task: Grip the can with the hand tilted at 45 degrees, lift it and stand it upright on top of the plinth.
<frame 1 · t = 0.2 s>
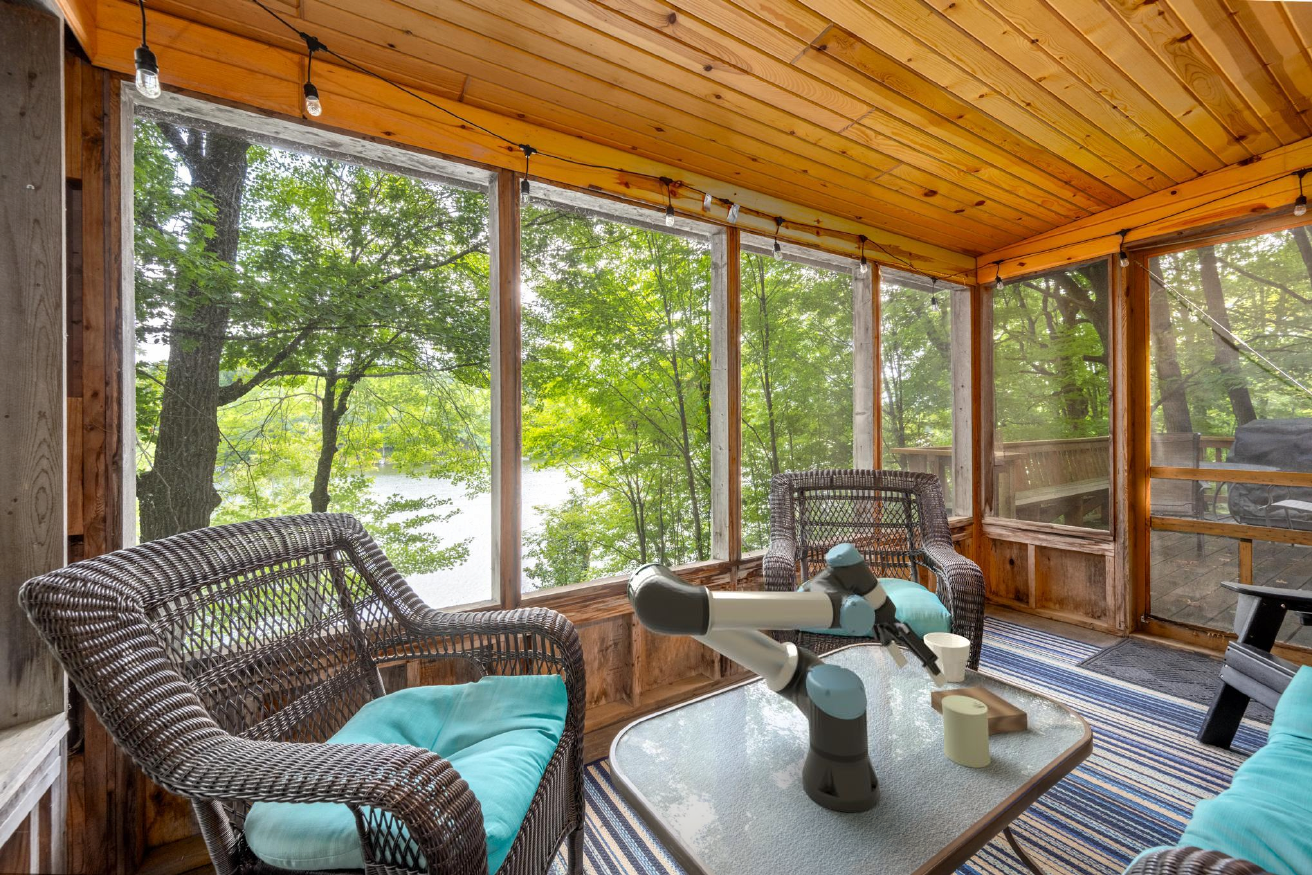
hand: (922, 674, 129), 16 cm above the table, tool tilted 30°, fingers open, 13 cm apart
cup: (948, 677, 161), on the table
can: (966, 756, 121), on the table
plinth: (977, 717, 137), on the table
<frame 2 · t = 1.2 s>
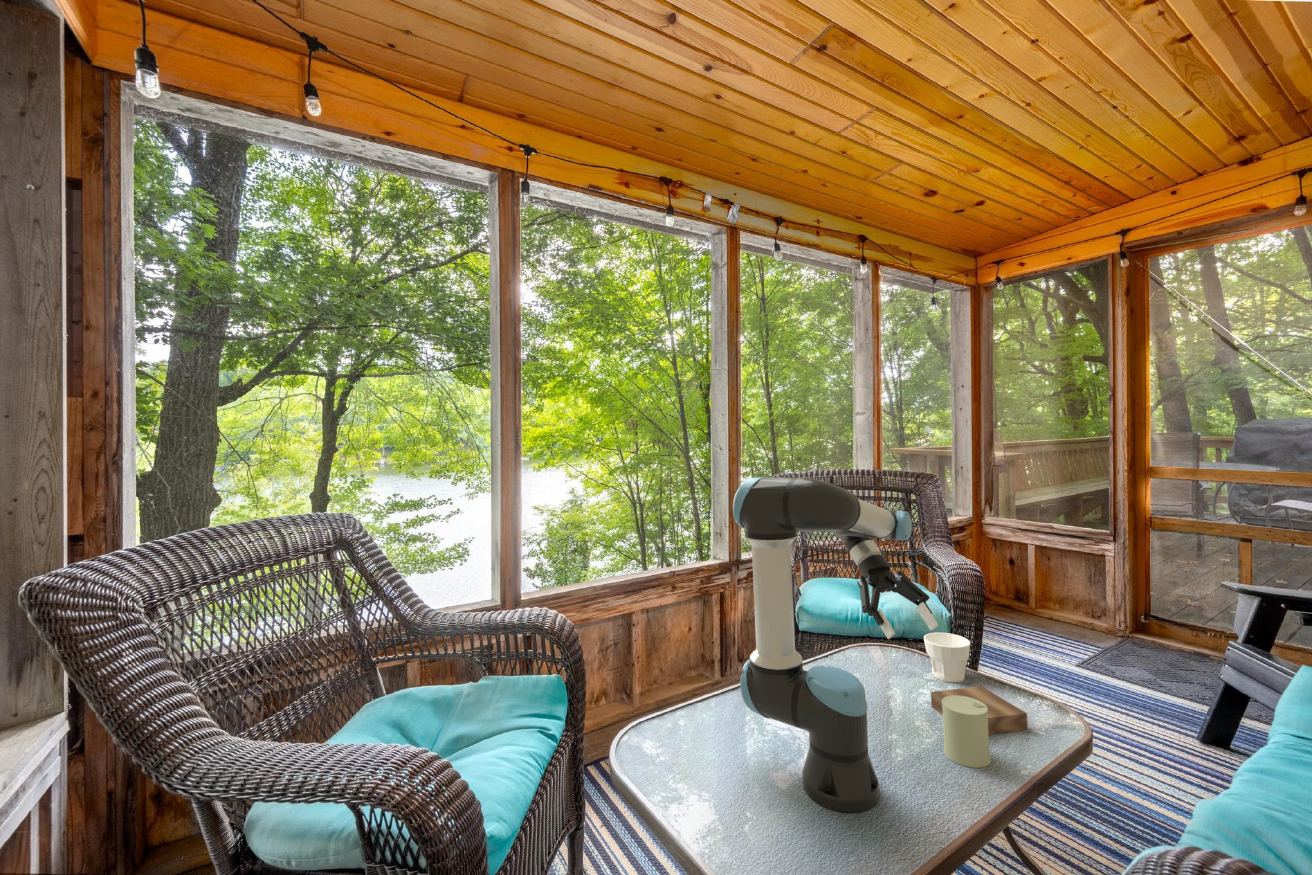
hand: (913, 632, 135), 23 cm above the table, tool tilted 45°, fingers open, 13 cm apart
nothing on the table moved.
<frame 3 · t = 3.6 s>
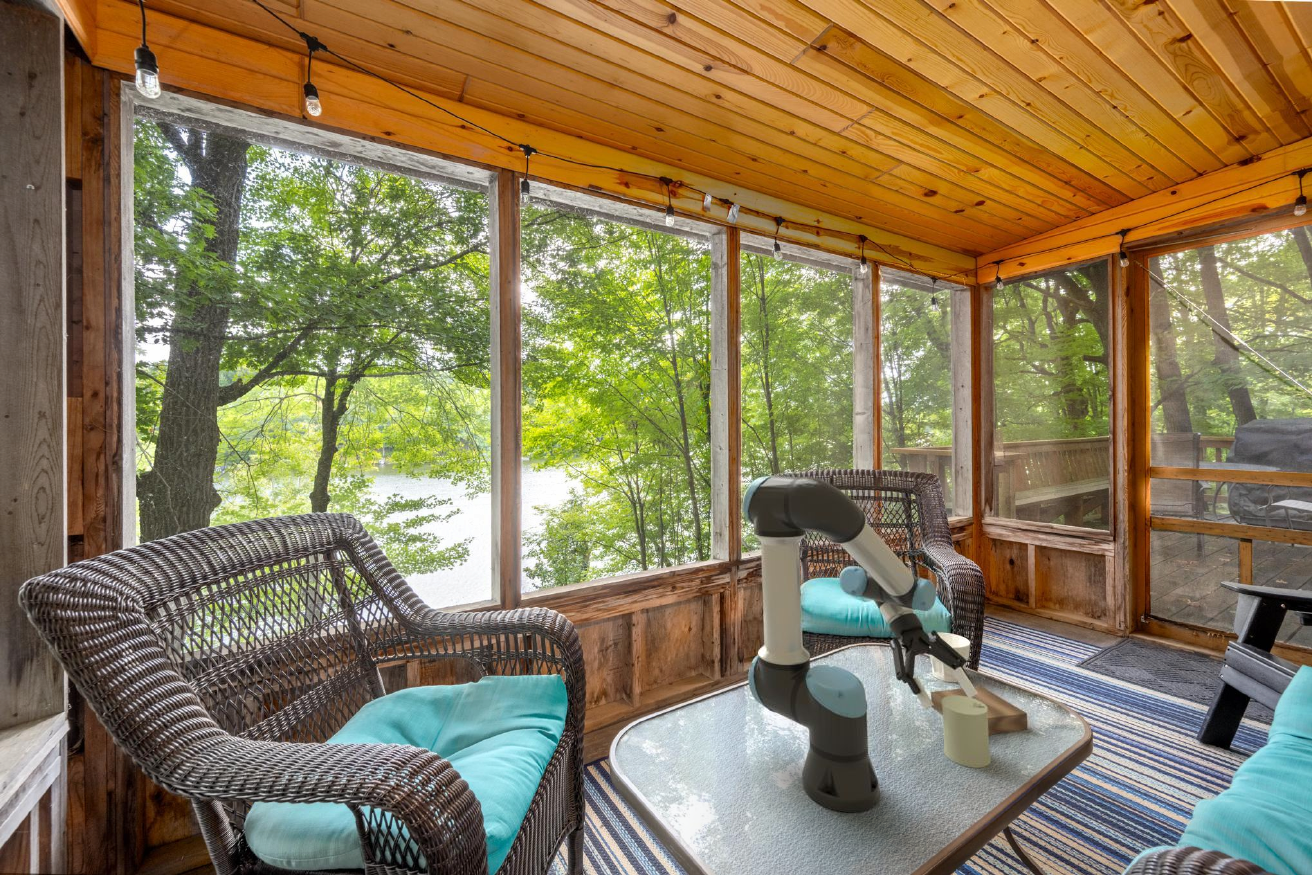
hand: (952, 701, 126), 10 cm above the table, tool tilted 45°, fingers open, 13 cm apart
nothing on the table moved.
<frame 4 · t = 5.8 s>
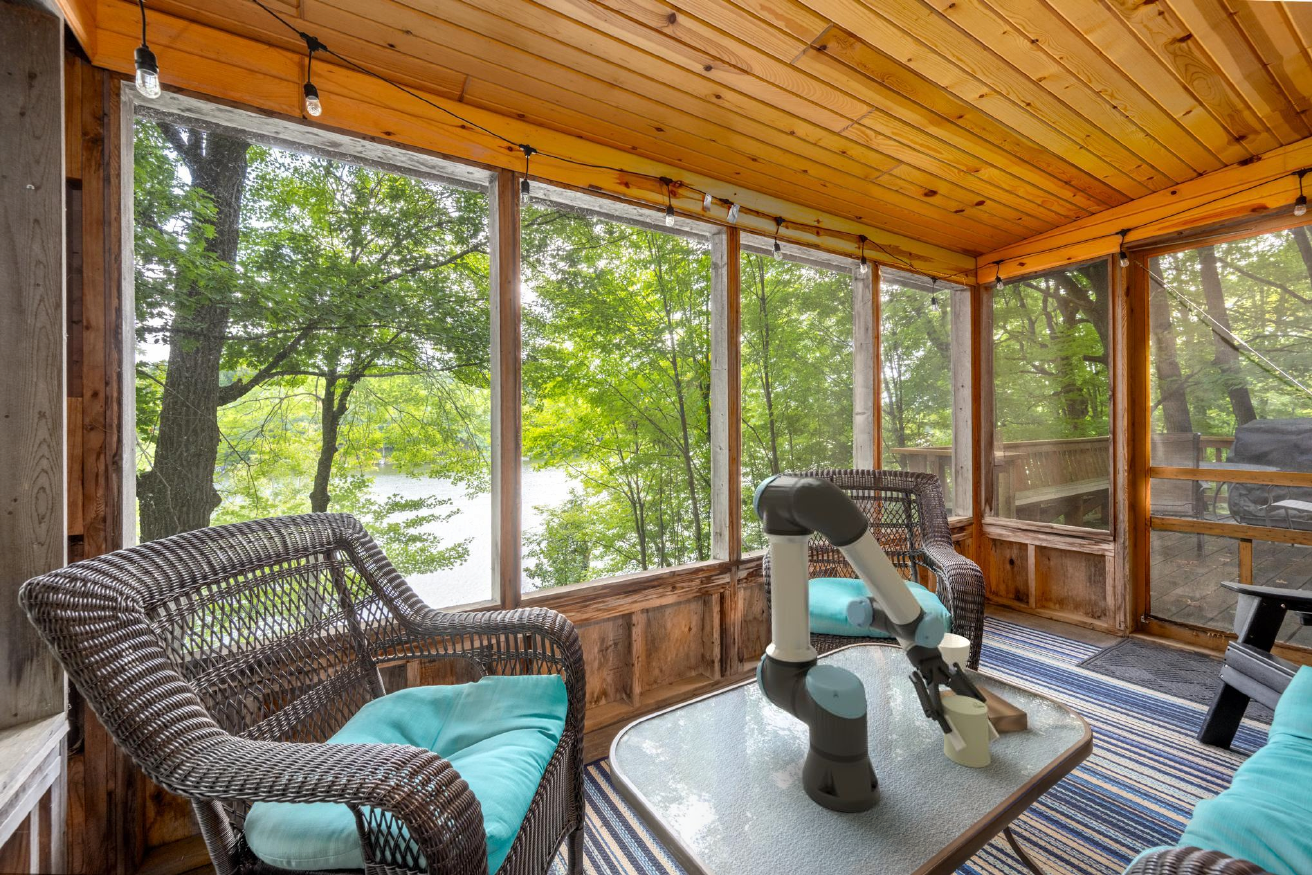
hand: (978, 743, 118), 4 cm above the table, tool tilted 45°, fingers closed on can, 9 cm apart
can: (966, 756, 121), on the table, touching gripper
everything else where it was.
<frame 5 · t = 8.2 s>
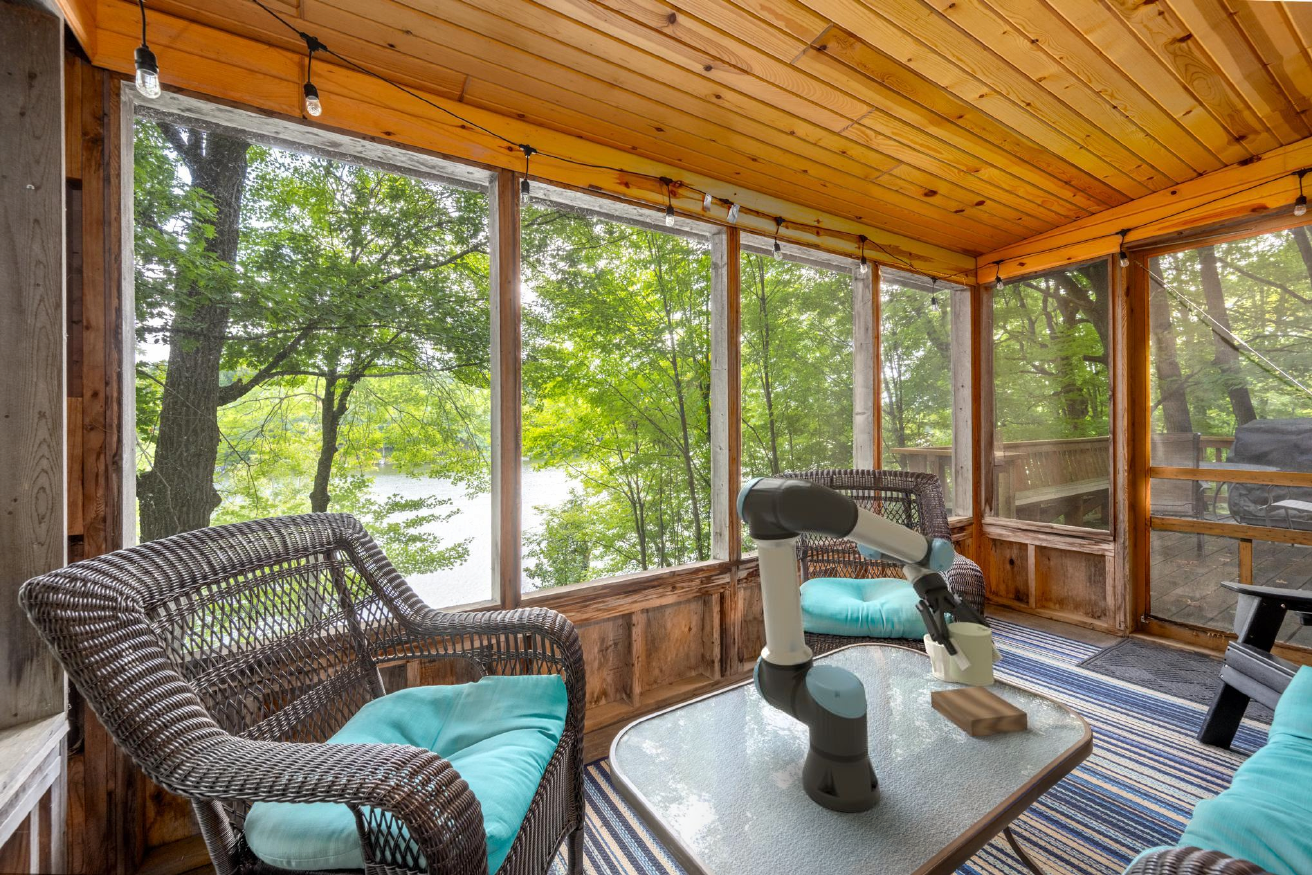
hand: (982, 664, 124), 19 cm above the table, tool tilted 45°, fingers closed on can, 9 cm apart
can: (971, 677, 127), point 15 cm above the table, touching gripper
everything else where it was.
when the fingers open (10 cm above the table, at t = 10.9 s): can drops 1 cm, resting on plinth.
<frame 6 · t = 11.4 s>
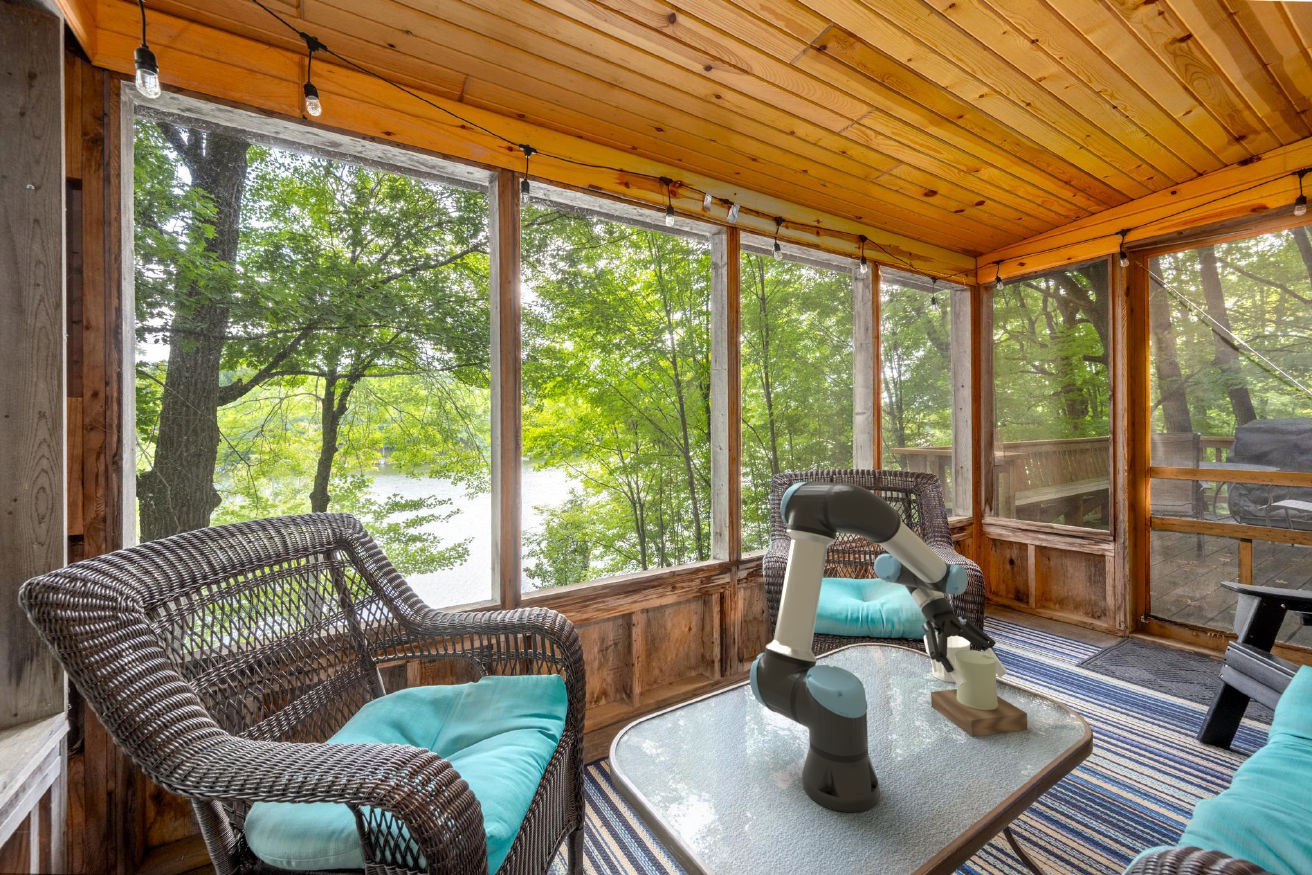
hand: (983, 679, 135), 11 cm above the table, tool tilted 45°, fingers open, 13 cm apart
can: (977, 702, 137), point 4 cm above the table, touching plinth
everything else where it was.
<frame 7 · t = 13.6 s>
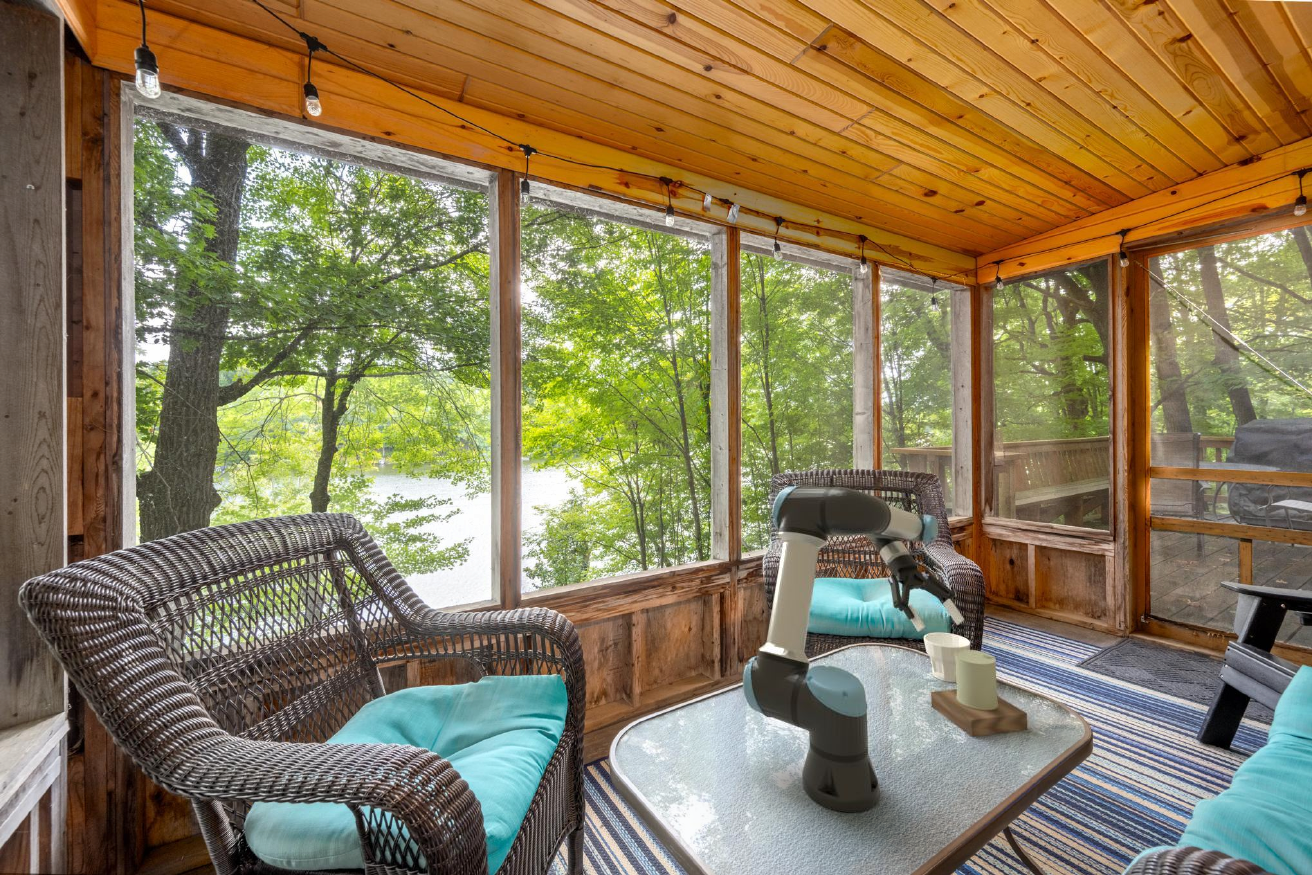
hand: (941, 625, 147), 20 cm above the table, tool tilted 45°, fingers open, 13 cm apart
nothing on the table moved.
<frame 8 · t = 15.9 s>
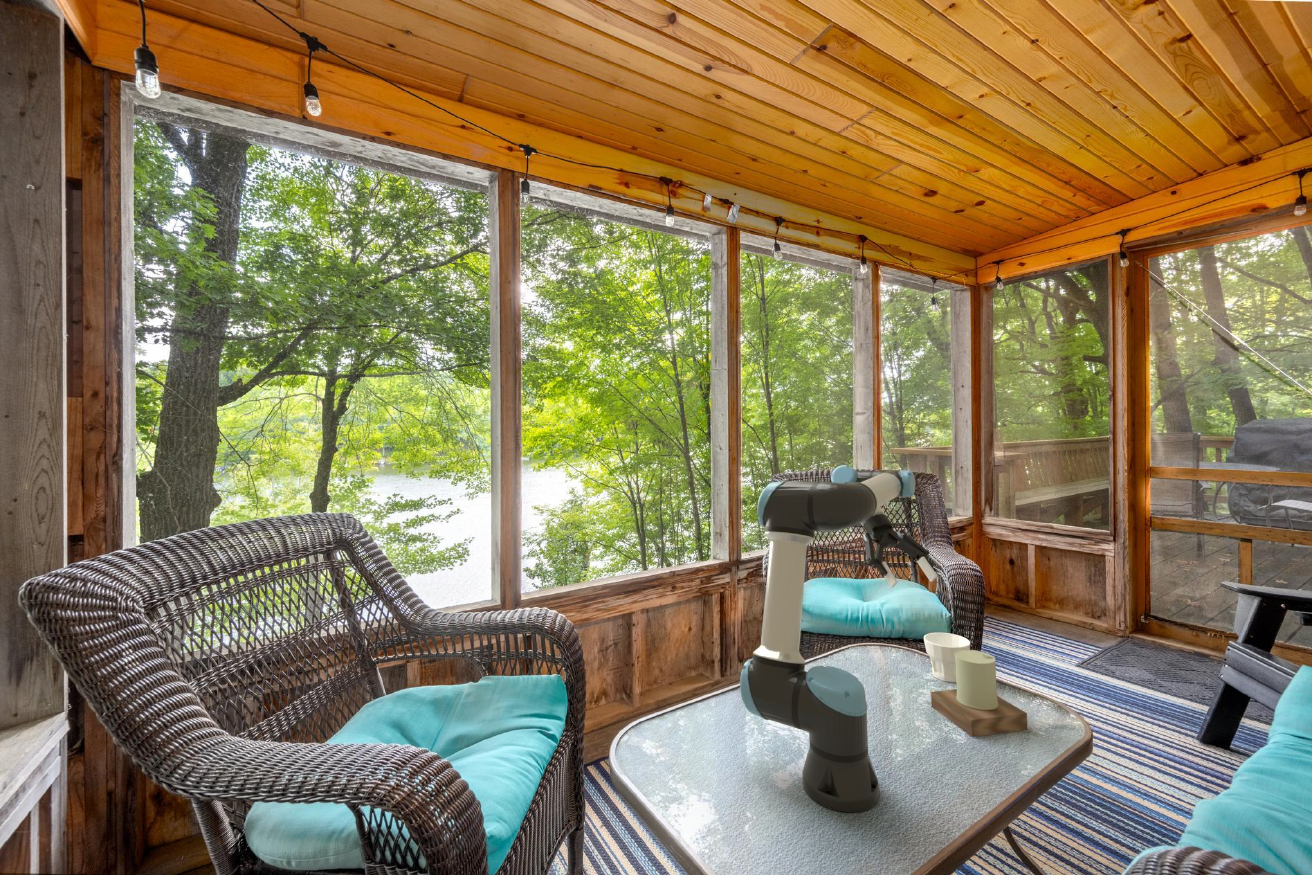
hand: (914, 582, 147), 33 cm above the table, tool tilted 45°, fingers open, 13 cm apart
nothing on the table moved.
at the end: can inside the target area on the plinth (0.4 cm from its centre), point 3.8 cm above the plinth's base; can tilted 0°; the gripper is holding nothing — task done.
